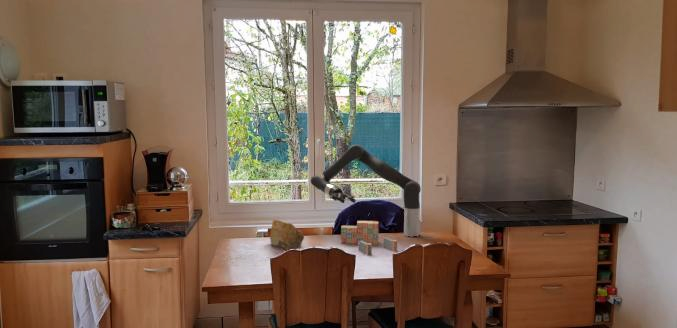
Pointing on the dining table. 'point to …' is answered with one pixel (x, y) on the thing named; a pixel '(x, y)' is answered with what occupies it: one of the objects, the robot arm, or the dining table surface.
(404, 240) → the dining table surface
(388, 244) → the spaced upright blocks
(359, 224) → the stack of blocks
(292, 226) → the rough brown rock
